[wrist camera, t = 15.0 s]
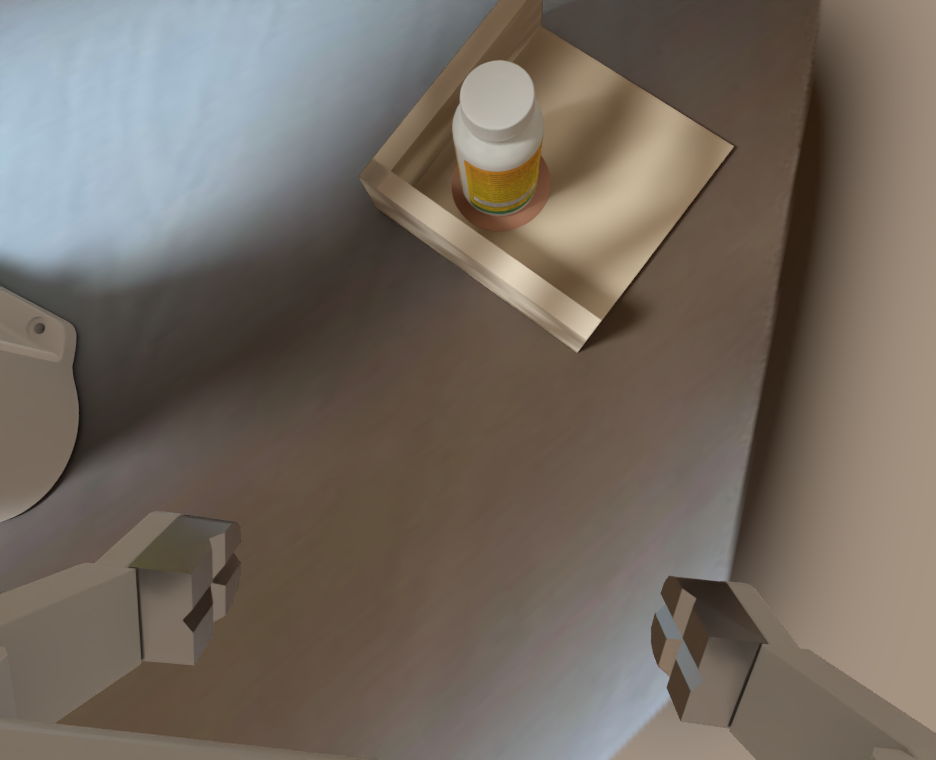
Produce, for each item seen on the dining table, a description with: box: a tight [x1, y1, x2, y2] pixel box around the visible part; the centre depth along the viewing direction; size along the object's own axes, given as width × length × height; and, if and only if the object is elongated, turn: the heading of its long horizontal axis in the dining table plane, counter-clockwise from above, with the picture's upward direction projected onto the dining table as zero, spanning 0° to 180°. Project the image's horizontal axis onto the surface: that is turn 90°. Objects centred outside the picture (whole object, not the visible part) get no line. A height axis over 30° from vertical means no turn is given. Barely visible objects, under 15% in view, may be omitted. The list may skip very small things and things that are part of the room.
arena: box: [358, 0, 734, 353], centre depth 35 cm, size 18×18×4 cm
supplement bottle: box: [452, 60, 544, 216], centre depth 32 cm, size 5×5×10 cm
